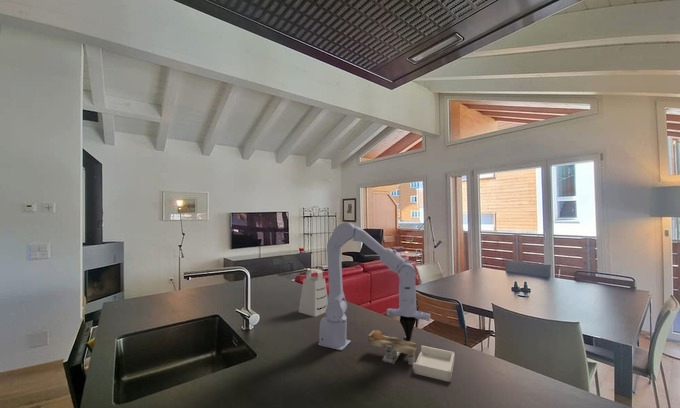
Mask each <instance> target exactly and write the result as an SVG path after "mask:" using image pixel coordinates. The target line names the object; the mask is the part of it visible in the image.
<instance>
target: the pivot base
mask: <svg viewBox="0 0 680 408" xmlns="http://www.w3.org/2000/svg"><path fill="white" fill-rule="evenodd" d="M391 337H392V338H396V339H399V337H395V336H391ZM401 354H402V353H401V352H397V351H394V350H393V346H392V345H387V344H386V348H385V355H384V356H383V358H382V359H381V362H383V361H384V363H387V362H388V364H391V363H392V365H395V364H396V363H395V362H397V360H398V359H399V357H400V355H401ZM407 358H408V360H407V362H408V363H407V365H409V366H413V362H414V363H415V361H416V352H415V353H414V355H409V354H408V356H407Z"/></svg>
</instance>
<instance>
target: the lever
mask: <svg viewBox="0 0 680 408" xmlns="http://www.w3.org/2000/svg"><path fill="white" fill-rule="evenodd" d="M375 331H376V330H375V329H373V330H372V331H371V332H369V334H368V336H367V344H368V345H371V346H375V347H379V348H382V349H386V344H387V345H392V346H393V350H394V351H397V352H401V354H404V355H405V354H406V355H408V356H409V355H414V353H415V354H416V351H417V348H418V346H417V344H418V343H415V342H413V341H412V340H413V337H411V340H407V339H406V335H405V336H403V338H402V339H400V338H398V339H396V338H397V337H396V338H392V337H393V336H387V335H383V337H382V339H381V340H380V341H379V340H375V339H374V337H373V333H374V332H375Z"/></svg>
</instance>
